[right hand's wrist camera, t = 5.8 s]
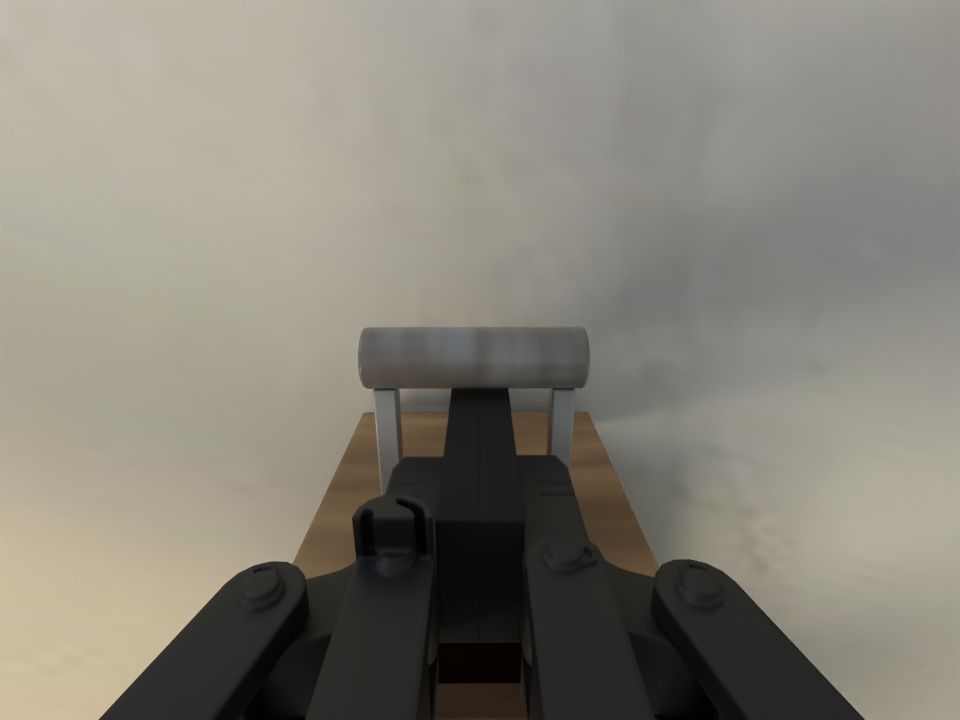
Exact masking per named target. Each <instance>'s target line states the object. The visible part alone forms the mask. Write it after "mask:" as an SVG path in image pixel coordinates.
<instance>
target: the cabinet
mask: <svg viewBox="0 0 960 720" xmlns="http://www.w3.org/2000/svg"><path fill="white" fill-rule="evenodd" d="M520 689H521V683H438V688H437V700H436V713H435V720H525V712H524V702H520Z"/></svg>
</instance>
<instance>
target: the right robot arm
mask: <svg viewBox="0 0 960 720" xmlns="http://www.w3.org/2000/svg"><path fill="white" fill-rule="evenodd" d="M352 524H353V534H354V543H355V553H356V560H355V562H354V563H353V564H351V565H349V566H347V567H345V568H343V569H341V570H338V571H335V572H332V573H329V574H325V575H321V576H317V577H313V578H309V579H305V575H304V573H303V572H302V571H301V570H300V569H299V567H298V566H295V565H293V564H290V563H288V562H267V563H263V564H258V565H254V566H252V567H250V568H248V569H246V570H244V571H242V572H240V573H238V574H237V575H236V576H234V577H233V578H232V579H231V580H229V581H228V582H227V583H226V584H225V585H224V586H223V587H222V588H221V589H220V590H219V591H218V592H217V593H216V594H215V595H214V596H213V598H212V599H211V600H210V601H209V602H208V603H207V604H206V605H205V606H204V607H203V608H202V609H201V610H200V612H199V613H198V614H197V615H196V616H195V617H194V618H193V619H192V620H191V621H190V622H189V623H188V624H187V625H186V627H185V628H184V629H183V630H182V631H181V632H180V633H179V634H178V635H177V636H176V637H175V638H174V639H173V640H172V642H171V643H170V644H169V645H168V646H167V647H166V648H165V649H164V650H163V651H162V652H161V653H160V654H159V655H158V657H157V658H156V659H155V660H154V661H153V662H152V663H151V664H150V665H149V666H148V667H147V668H146V669H145V670H144V672H143V673H142V674H141V675H140V676H139V677H138V678H137V679H136V680H135V681H134V682H133V683H132V684H131V686H130V687H129V688H128V689H127V690H126V691H125V692H124V693H123V694H122V695H121V696H120V697H119V698H118V699H117V701H116V702H115V703H114V704H113V705H112V706H111V707H110V708H109V709H108V710H107V711H106V712H105V713H104V714H103V716H102V717H101V718H100V719H99V720H435V713H436V700H437V688H438V675H439V663H438V644H439V643H521V642H522V663H521V689H520V702H524V712H525V720H865V719H864V718H863V717H862V716H861V715H860V714H859V713H858V712H857V711H856V710H855V709H854V708H853V707H852V706H851V704H850V703H849V702H848V701H847V700H846V699H845V698H844V697H843V696H842V695H841V694H840V693H839V692H838V691H837V690H836V689H835V687H834V686H833V685H832V684H831V683H830V682H829V681H828V680H827V679H826V678H825V677H824V676H823V675H822V674H821V673H820V671H819V670H818V669H817V668H816V667H815V666H814V665H813V664H812V663H811V662H810V661H809V660H808V659H807V658H806V657H805V655H804V654H803V653H802V652H801V651H800V650H799V649H798V648H797V647H796V646H795V645H794V644H793V643H792V642H791V641H790V640H789V638H788V637H787V636H786V635H785V634H784V633H783V632H782V631H781V630H780V629H779V628H778V627H777V626H776V625H775V624H774V622H773V621H772V620H771V619H770V618H769V617H768V616H767V615H766V614H765V613H764V612H763V611H762V610H761V609H760V608H759V606H758V605H757V604H756V603H755V602H754V601H753V600H752V599H751V598H750V597H749V596H748V595H747V594H746V593H745V592H744V590H743V589H742V588H741V587H740V586H739V585H738V584H737V583H736V582H735V581H734V580H732V579H731V578H730V577H729V576H728V575H726V574H725V573H724V572H723V571H721V570H719V569H717V568H715V567H713V566H711V565H708V564H706V563H703V562H698V561H694V560H690V559H687V560H673V561H670V562H668V563H665V564H663V565H662V566H661V567H660V568H659V569H658V571H657V572H656V573H655V577H651V576H647V575H643V574H639V573H635V572H631V571H628V570H625V569H622V568H619V567H617V566H615V565H613V564H611V563H609V562H607V561H606V560H605V559H604V557H603V555H602V553H601V552H600V550H599V548H598V547H597V546H596V545H594V544H593V543H592V542H591V541H589V539H588V535H587V532H586V529H585V525H584V522H583V518H582V515H581V512H580V508H579V505H578V501H577V498H576V496H575V491H574V488H573V484H572V481H571V478H570V474H569V471H568V467H567V466H566V465H565V464H564V463H563V462H562V461H561V460H560V459H559V458H558V457H557V456H556V455H517V454H516V446H515V439H514V431H513V423H512V415H511V407H510V400H509V392H508V388H452V392H451V400H450V408H449V415H448V423H447V431H446V439H445V447H444V454H443V457H404V458H403V459H402V460H401V461H400V462H399V463H398V464H397V465H396V466H395V467H394V468H393V469H392V473H391V476H390V480H389V485H388V486H387V490H386V493H385V495H382V496H379V497H377V498H374V499H371V500H369V501H367V502H366V503H365V504H363V505H362V506H360V507H359V508H358V509H357V511H356V512H355V513H354V515H353V516H352Z"/></svg>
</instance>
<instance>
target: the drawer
mask: <svg viewBox="0 0 960 720" xmlns="http://www.w3.org/2000/svg"><path fill="white" fill-rule="evenodd" d="M589 365H590V350H589V341H588V336H587V333H586V330H585V329H584V328H582V327H367V328H365V329H363V331H362V333H361V336H360V340H359V348H358V368H359V375H360V379H361V382H362V385H363V386H364V387H365V388H368V389H374V390H373V400H374V412H375V413H363V415H362V417H361V419H360V422H359V424H358V426H357V428H356V430H355V432H354V434H353V436H352V439H351V441H350V443H349V445H348V447H347V449H346V451H345V453H344V456H343V458H342V460H341V462H340V464H339V466H338V468H337V470H336V473H335V475H334V477H333V479H332V481H331V483H330V485H329V488H328V490H327V492H326V494H325V496H324V498H323V500H322V502H321V505H320V507H319V509H318V511H317V513H316V515H315V517H314V519H313V522H312V524H311V526H310V528H309V530H308V532H307V534H306V536H305V539H304V541H303V543H302V545H301V547H300V549H299V551H298V553H297V556H296V558H295V560H294V562H293V565H295V566H298V567H299V569H300V570H301V571H302V572H303V573H304V575H305V579H309V578H313V577H317V576H321V575H325V574H329V573H332V572H335V571H338V570H341V569H343V568H345V567H347V566H349V565H351V564H353V563H354V562H355V560H356V553H355V543H354V534H353V524H352V516H353V515H354V513H355V512H356V511H357V509H358V508H359V507H360V506H362V505H363V504H365V503H366V502H367V501H369V500H371V499H374V498H377V497H379V496H382V495H385V493H386V490H387V486H388V485H389V480H390V476H391V473H392V469H393V468H394V467H395V466H396V465H397V464H398V463H399V462H400V461H401V460H402V459H403V458H404V457H443V454H444V447H445V439H446V431H447V423H448V415H449V412H401V410H400V393H399V388H550V390H549V410H548V412H511V415H512V423H513V431H514V439H515V446H516V454H517V455H556V456H557V457H558V458H559V459H560V460H561V461H562V462H563V463H564V464H565V465H566V466H567V467H568V471H569V474H570V478H571V481H572V484H573V488H574V491H575V496H576V498H577V501H578V505H579V508H580V512H581V515H582V518H583V522H584V525H585V529H586V532H587V535H588V539H589V541H591V542H592V543H593V544H594V545H596V546H597V547H598V548H599V550H600V552H601V553H602V555H603V557H604V559H605V560H606V561H607V562H609V563H611V564H613V565H615V566H617V567H619V568H622V569H625V570H628V571H631V572H635V573H639V574H643V575H647V576H651V577H655V573H656V572H657V571H658V569H659V567H658V565H657V563H656V561H655V559H654V556H653V554H652V552H651V550H650V548H649V545H648V543H647V541H646V539H645V537H644V534H643V532H642V530H641V528H640V526H639V524H638V521H637V519H636V517H635V515H634V513H633V510H632V508H631V506H630V504H629V502H628V499H627V497H626V495H625V493H624V491H623V488H622V486H621V484H620V482H619V480H618V477H617V475H616V473H615V471H614V469H613V467H612V464H611V462H610V460H609V458H608V456H607V453H606V451H605V449H604V447H603V445H602V442H601V440H600V438H599V436H598V434H597V431H596V429H595V427H594V425H593V423H592V421H591V418H590V416H589V414H588V412H574V405H575V389H574V388H582V387H584V386H585V385H586V382H587V379H588V374H589ZM438 663H439V675H438V683H521V663H522V642H521V643H439V644H438Z"/></svg>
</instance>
